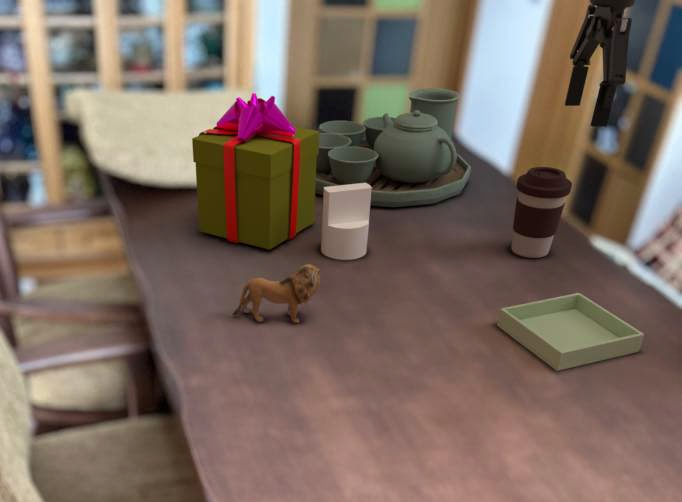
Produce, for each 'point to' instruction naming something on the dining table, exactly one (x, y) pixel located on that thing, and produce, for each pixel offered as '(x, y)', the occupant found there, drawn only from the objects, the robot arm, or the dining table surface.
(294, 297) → the lion figurine
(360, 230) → the cylinder with rectangular tab
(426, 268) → the dining table surface
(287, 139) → the gift box
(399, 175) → the tea set
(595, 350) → the tray
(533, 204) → the coffee cup
